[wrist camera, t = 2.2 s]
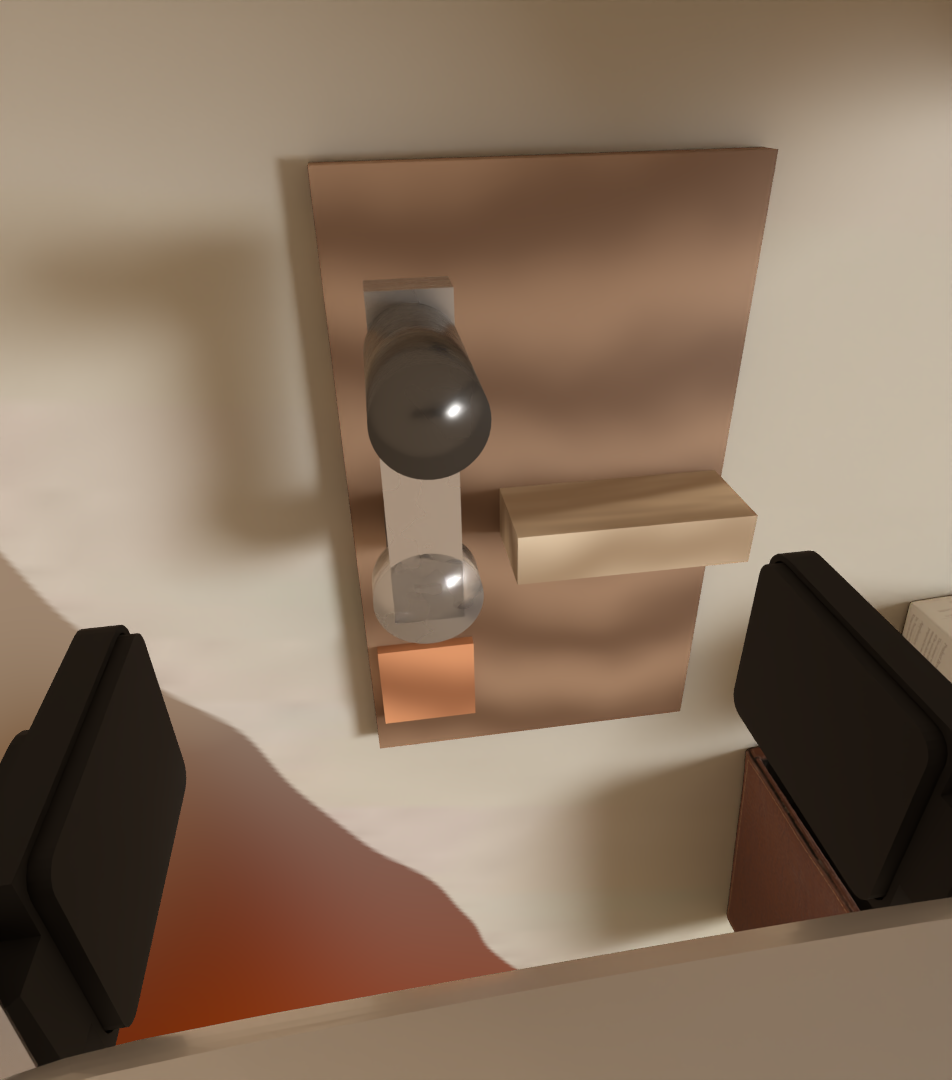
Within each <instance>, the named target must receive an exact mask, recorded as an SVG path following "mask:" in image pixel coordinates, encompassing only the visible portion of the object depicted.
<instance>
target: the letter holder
mask: <svg viewBox="0 0 952 1080" xmlns="http://www.w3.org/2000/svg"><path fill="white" fill-rule="evenodd" d="M870 909H873V908H872V907H871V905H870V904H869V902H868V901H867V900H862V899H860V898H858V897H857V896H856V895H855V894H854V893H853V892H852V890H851V889H850V888H849V886H848V885H847V883H846V881H845V880H844V878H843V877H842V875H841V874H840V872H839V870H838V869H837V867H836V866H835V864H834V863H833V861H832V860H831V858H830V856H829V855H828V853H827V852H826V850H825V849H824V847H823V845H822V844H821V842H820V841H819V839H818V838H817V836H816V834H815V833H814V831H813V830H812V828H811V827H810V825H809V824H808V822H807V820H806V819H805V817H804V816H803V814H802V813H801V811H800V809H799V808H798V806H797V805H796V803H795V802H794V800H793V799H792V797H791V795H790V794H789V792H788V791H787V789H786V788H785V786H784V784H783V783H782V781H781V780H780V778H779V777H778V775H777V773H776V772H775V770H774V769H773V767H772V766H771V764H770V763H769V761H768V759H767V758H766V756H765V755H764V753H763V752H762V750H761V748H760V747H755V748H750V749H748V750H747V751H746V758H745V770H744V780H743V789H742V798H741V805H740V813H739V821H738V828H737V834H736V843H735V852H734V860H733V869H732V877H731V885H730V894H729V903H728V910H727V918H728V920H729V922H730V924H731V926H732V928H733V930H734V932H739V931H745V930H751V929H757V928H763V927H769V926H775V925H781V924H787V923H793V922H799V921H805V920H810V919H816V918H822V917H828V916H834V915H840V914H846V913H852V912H858V911H864V910H870Z"/></svg>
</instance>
